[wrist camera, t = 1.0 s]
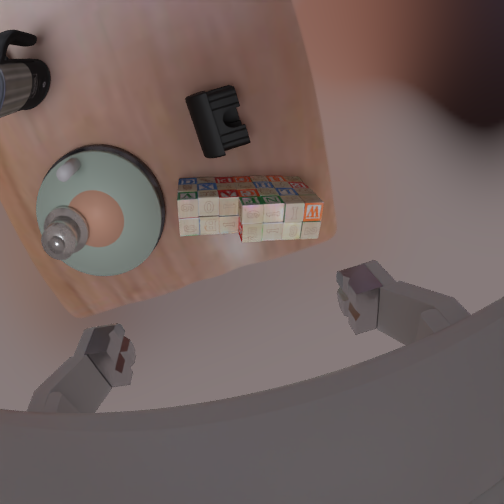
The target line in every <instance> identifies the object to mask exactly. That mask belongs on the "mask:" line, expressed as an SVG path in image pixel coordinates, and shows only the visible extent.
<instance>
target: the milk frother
mask: <svg viewBox="0 0 504 504" xmlns="http://www.w3.org/2000/svg"><path fill="white" fill-rule="evenodd" d="M36 42H37V37H36V36H35V35H32V34H29V33H26V32H22V31H18V30H8V31H4V32H1V33H0V118H1V117H4V116H6V115H9V114H12V113H14V112H17V111H20V110H28V109H32V108H34V107H36V106H37V105H38V104H40V103H41V102H42V100H43V99H44V98H45V96H46V94H47V92H48V89H49V86H50V72H49V69H48V67H47V65H46V64H45V63H44V62H42V61H41V60H38V59H8V57H7V56H6V51H7V48H8V46H9V44H11V45H18V46H32V45H34V44H35V43H36Z"/></svg>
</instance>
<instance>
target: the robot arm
mask: <svg viewBox="0 0 504 504" xmlns="http://www.w3.org/2000/svg"><path fill="white" fill-rule="evenodd" d="M336 277H337V283H338V284H339V286H340V288H339V289H338V291H337V295H338V302H339V306H340V308H341V311H342V312H343V314H344V315H345V316H347V317H349V325H350V326H351V328H352V329H353V331H354V333H355V335H357V334H360V333H363V332H367V331H369V330H373V329H376V328H377V329H378V330H379V331H381V332H383V333H385V334H387V335H388V336H390V337H392V338H394V339H396V340H397V341H399V342H401V343H403V344H405V346H403V347H401V348H398V349H396V350H393V351H391V352H388V353H386V354H383V355H380V356H378V357H375V358H372V359H370V360H367V361H364V362H361V363H359V364H356V365H353V366H350V367H347V368H344V369H341V370H338V371H335V372H331V373H328V374H325V375H321V376H318V377H315V378H311V379H308V380H304V381H300V382H297V383H293V384H289V385H285V386H281V387H278V388H273V389H269V390H265V391H260V392H256V393H251V394H247V395H242V396H237V397H232V398H227V399H222V400H216V401H210V402H204V403H197V404H191V405H184V406H176V407H168V408H160V409H150V410H139V411H125V412H107V413H95V412H96V410H97V409H98V407H99V406H100V404H101V403H102V402H103V400H104V399H105V397H106V396H107V395H108V393H109V392H110V390H111V389H112V387H117V386H125V385H130V384H131V379H132V374H133V371H132V370H131V366H132V365H133V364H134V363H135V358H136V356H135V349H134V346H133V344H132V342H131V340H130V339H128V338H127V337H125V336H124V334H125V330H124V329H123V327H122V325H121V324H118V323H116V324H110V325H104V326H98V327H92V328H87V329H85V330H84V332H83V335H82V337H81V339H80V341H79V344H78V346H77V349H76V351H75V353H74V356H73V357H70V358H69V359H68V360H67V361H66V362H64V363H63V364H62V365H61V366H60V367H59V368H58V369H57V370H56V371H55V372H54V373H53V374H52V375H51V376H50V377H49V378H47V379H46V380H45V381H44V382H43V383H42V384H41V385H40V386H39V387H38V388H37V389H36V390H35V391H34V393H33V396H32V399H31V401H30V404H29V406H28V409H27V411H14V410H5V409H0V504H504V297H502V298H501V299H499V300H497V301H495V302H494V303H492V304H490V305H488V306H486V307H485V308H483V309H481V310H479V311H477V312H476V313H474V314H472V315H471V314H470V313H469V312H467V310H466V309H465V308H464V307H463V306H462V305H461V304H460V303H459V302H458V301H457V300H456V299H455V298H453V297H450V296H447V295H444V294H441V293H437V292H434V291H431V290H428V289H424V288H421V287H418V286H415V285H412V284H409V283H405V282H402V281H398V282H396V281H395V280H394V279H393V278H392V277H391V275H389V273H388V272H387V271H386V270H385V269H384V268H383V267H382V266H381V265H380V264H379V263H378V262H377V261H375V260H372V261H369V262H366V263H363V264H361V265H358V266H354V267H351V268H347V269H344V270H341V271H337V276H336Z"/></svg>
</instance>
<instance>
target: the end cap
mask: <svg viewBox="0 0 504 504" xmlns="http://www.w3.org/2000/svg"><path fill="white" fill-rule="evenodd" d="M185 100H186V103H187V106H188V109H189V112H190V115H191V118H192V121H193V124H194V127H195V130H196V133H197V136H198V139H199V142H200V144H201V147H202V150H203V153H204V156H205V157H206V158H217V157H221V156H225V155H226V154H225V151H226V150H229V149H232V148H236V147H239V146H242V145H245V144H248V143H250V139H249V136H248V132H247V129H246V125H245V124H243V125H242V124H241V120H239V116H238V113H237V109H236V107H239V106H240V105H239V101H238V98H237V94H236V91H235V88H234V86H231V85H228V86H224V87H221V88H217V89H214V90H211V91H208V92H205V91H201V92H198V93H195V94H193V95H190V96H188V97H186V98H185Z"/></svg>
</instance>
